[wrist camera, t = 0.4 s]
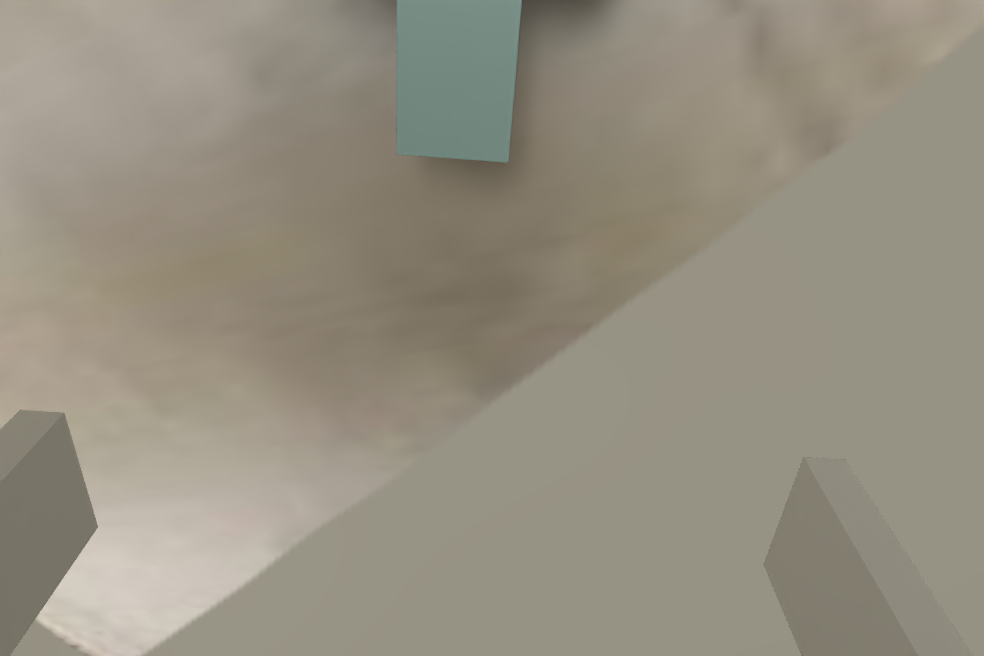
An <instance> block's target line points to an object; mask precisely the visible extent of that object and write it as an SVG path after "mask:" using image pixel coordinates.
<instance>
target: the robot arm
mask: <svg viewBox="0 0 984 656" xmlns="http://www.w3.org/2000/svg"><path fill="white" fill-rule="evenodd" d="M97 528H98V525H97V522H96V518H95V515H94V512H93V508H92V505H91V501H90V498H89V495H88V491H87V488H86V485H85V481H84V478H83V474H82V471H81V468H80V464H79V461H78V458H77V454H76V451H75V447H74V444H73V441H72V437H71V434H70V431H69V427H68V424H67V420H66V417H65V414H64V413H59V412H43V411H26V410H20V411H19V412H18V413H17V414H16V415H15V416H14V417H13V418H12V419H11V420H10V421H9V422H8V423H6V424H5V425H4V426H3V427H2V428H1V429H0V656H10V655H11V654H12V652H13V651H14V649H15V648H16V646H17V645H18V643H19V642H20V640H21V639H22V637H23V636H24V635H25V633H26V631H27V630H28V629H29V627H30V626H31V624H32V623H33V621H34V620H35V618H36V617H37V615H38V614H39V613H40V611H41V610H42V608H43V607H44V605H45V604H46V602H47V601H48V599H49V598H50V596H51V595H52V594H53V592H54V591H55V589H56V588H57V586H58V585H59V583H60V582H61V580H62V579H63V577H64V576H65V574H66V573H67V572H68V570H69V569H70V567H71V566H72V564H73V563H74V561H75V560H76V558H77V557H78V555H79V554H80V553H81V551H82V550H83V548H84V547H85V545H86V544H87V542H88V541H89V539H90V538H91V536H92V535H93V533H94V532H95V531H96V529H97ZM764 566H765V569H766V571H767V574H768V576H769V579H770V581H771V583H772V586H773V588H774V591H775V593H776V595H777V598H778V600H779V603H780V605H781V607H782V610H783V612H784V615H785V617H786V619H787V622H788V624H789V627H790V629H791V631H792V634H793V636H794V639H795V641H796V644H797V646H798V648H799V651H800V653H801V656H974V655H973V653H972V652H971V651H970V649H969V647H968V646H967V644H966V643H965V641H964V640H963V638H962V637H961V635H960V634H959V632H958V631H957V629H956V628H955V626H954V625H953V623H952V621H951V620H950V618H949V617H948V615H947V614H946V612H945V611H944V609H943V608H942V606H941V605H940V603H939V602H938V600H937V599H936V597H935V596H934V594H933V593H932V591H931V589H930V588H929V586H928V585H927V584H926V582H925V580H924V579H923V577H922V576H921V574H920V573H919V571H918V570H917V568H916V567H915V565H914V563H913V562H912V560H911V559H910V557H909V556H908V554H907V553H906V551H905V550H904V548H903V547H902V545H901V544H900V542H899V541H898V539H897V538H896V536H895V535H894V533H893V532H892V530H891V528H890V527H889V525H888V524H887V522H886V521H885V519H884V518H883V516H882V515H881V513H880V512H879V510H878V508H877V507H876V506H875V504H874V502H873V501H872V499H871V498H870V497H869V495H868V493H867V492H866V490H865V489H864V487H863V486H862V484H861V483H860V481H859V480H858V478H857V477H856V475H855V473H854V472H853V470H852V469H851V467H850V466H849V464H848V463H847V461H846V460H843V459H827V458H810V457H803V460H802V462H801V465H800V468H799V470H798V473H797V476H796V478H795V481H794V484H793V486H792V489H791V492H790V495H789V498H788V500H787V503H786V505H785V508H784V511H783V514H782V516H781V519H780V522H779V524H778V527H777V530H776V532H775V535H774V538H773V540H772V543H771V546H770V549H769V552H768V554H767V557H766V559H765V562H764Z"/></svg>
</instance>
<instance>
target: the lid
mask: <svg viewBox="0 0 984 656" xmlns="http://www.w3.org/2000/svg"><path fill="white" fill-rule="evenodd" d="M521 4H522V0H397V154H398V155H411V156H425V157H439V158H452V159H466V160H480V161H494V162H507V163H508V162H509V150H510V138H511V125H512V113H513V101H514V89H515V77H516V65H517V53H518V41H519V29H520V17H521Z"/></svg>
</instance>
